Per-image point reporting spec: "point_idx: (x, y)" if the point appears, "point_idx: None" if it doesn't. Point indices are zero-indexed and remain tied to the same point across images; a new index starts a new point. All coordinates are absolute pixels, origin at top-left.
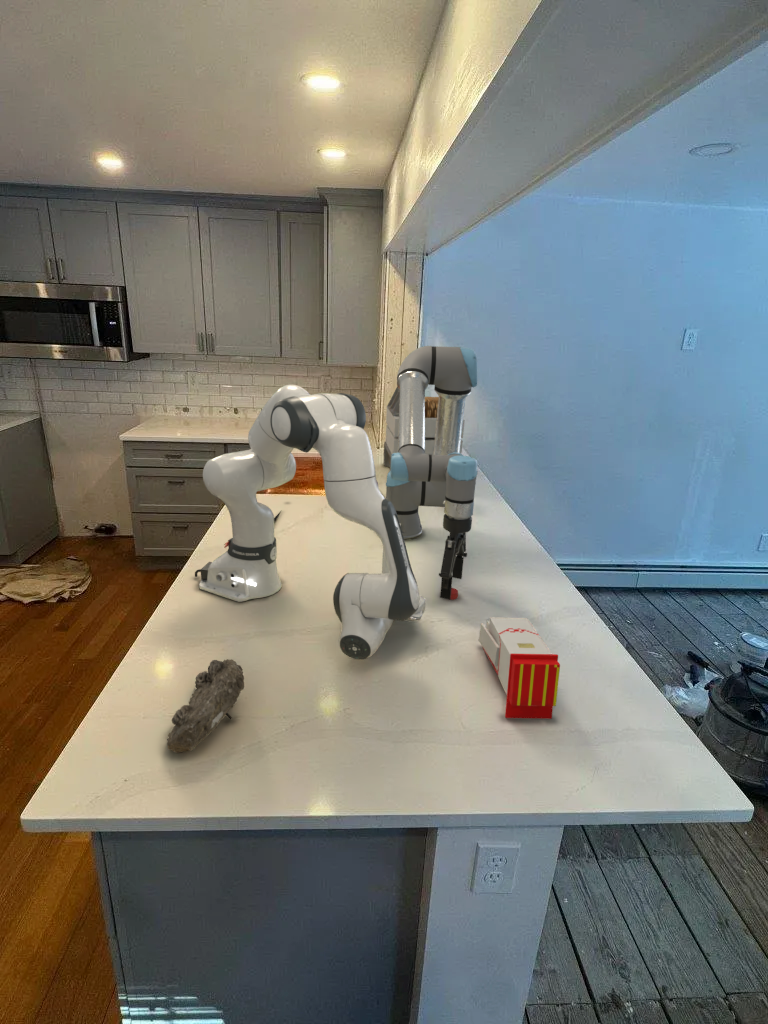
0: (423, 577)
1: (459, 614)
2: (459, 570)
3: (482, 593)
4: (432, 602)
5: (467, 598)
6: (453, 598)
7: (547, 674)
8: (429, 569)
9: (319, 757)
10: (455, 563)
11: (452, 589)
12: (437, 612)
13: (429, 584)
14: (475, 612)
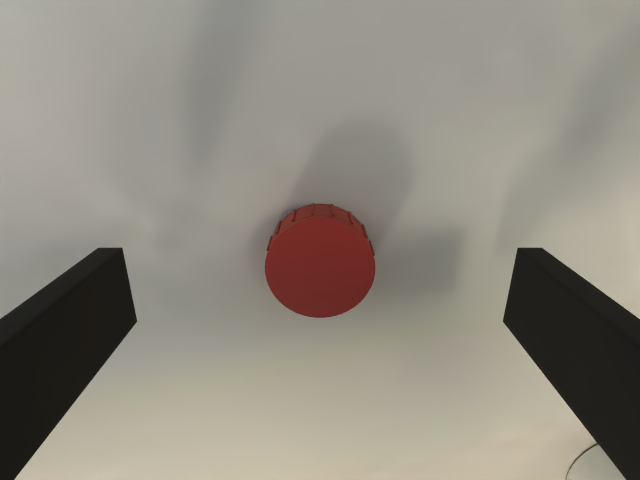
0: (153, 445)
1: (567, 130)
2: (80, 313)
3: (142, 24)
4: (447, 330)
5: (294, 130)
6: (361, 226)
7: None
8: None
9: None
10: (44, 411)
11: (294, 267)
12: None
13: (221, 398)
14: (505, 10)
